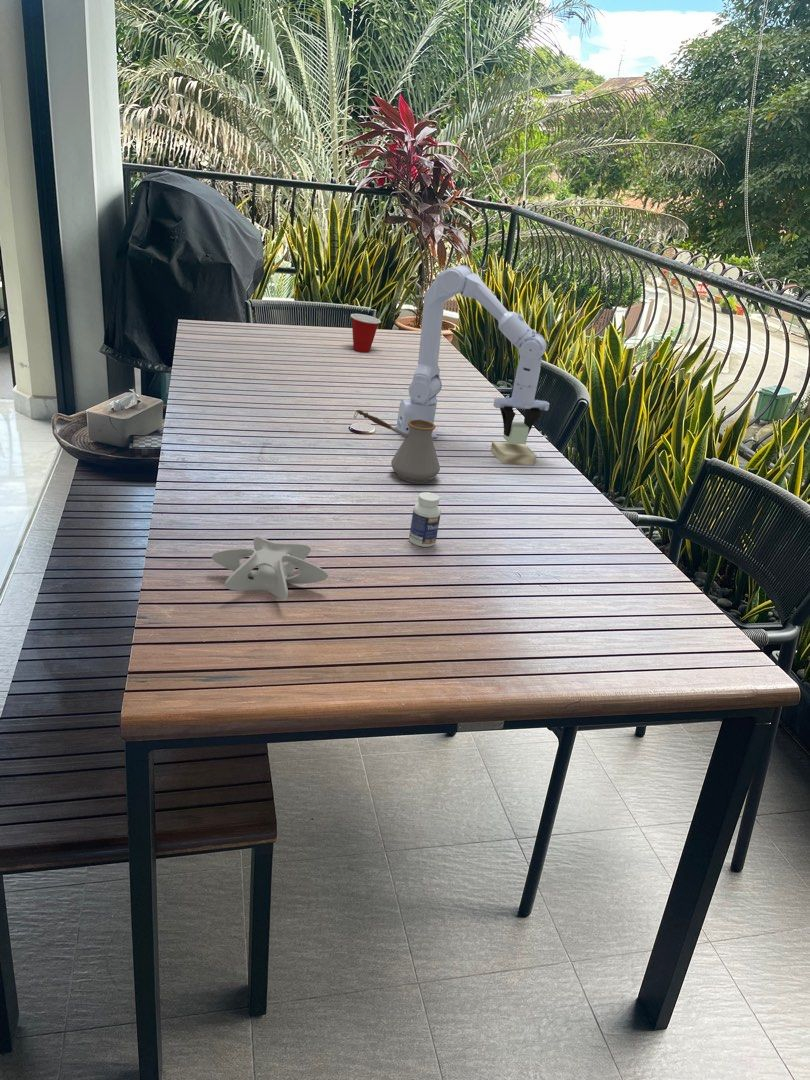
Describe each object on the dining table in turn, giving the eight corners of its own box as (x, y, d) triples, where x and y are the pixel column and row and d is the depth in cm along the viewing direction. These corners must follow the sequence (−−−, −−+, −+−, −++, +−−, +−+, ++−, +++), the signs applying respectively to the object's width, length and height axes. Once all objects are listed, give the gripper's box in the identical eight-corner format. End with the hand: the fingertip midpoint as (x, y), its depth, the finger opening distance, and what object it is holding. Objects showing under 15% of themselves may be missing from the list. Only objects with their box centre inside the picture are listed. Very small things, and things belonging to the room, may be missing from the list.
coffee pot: (433, 469, 202) (443, 409, 195) (442, 487, 191) (452, 425, 185) (345, 462, 198) (352, 401, 191) (349, 481, 187) (357, 417, 181)
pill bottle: (426, 550, 161) (434, 504, 157) (403, 541, 164) (410, 495, 159) (440, 541, 166) (448, 496, 161) (417, 532, 168) (424, 488, 164)
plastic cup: (376, 356, 294) (380, 322, 289) (346, 352, 294) (349, 317, 289) (378, 349, 304) (381, 316, 299) (348, 345, 304) (351, 311, 298)
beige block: (501, 465, 212) (503, 454, 210) (490, 452, 219) (492, 441, 218) (534, 466, 214) (536, 455, 213) (521, 453, 222) (524, 443, 221)
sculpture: (231, 618, 131) (232, 583, 128) (204, 559, 147) (205, 526, 144) (336, 607, 138) (340, 573, 135) (300, 552, 154) (303, 521, 151)
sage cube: (509, 443, 213) (512, 427, 212) (503, 437, 217) (506, 421, 215) (525, 444, 215) (529, 427, 213) (519, 438, 219) (522, 421, 217)
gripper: (504, 387, 204) (494, 439, 210) (558, 390, 208) (547, 441, 214) (494, 378, 210) (485, 430, 216) (546, 382, 214) (536, 432, 220)
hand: (515, 435), depth 215 cm, fingers closed on sage cube, 4 cm apart
